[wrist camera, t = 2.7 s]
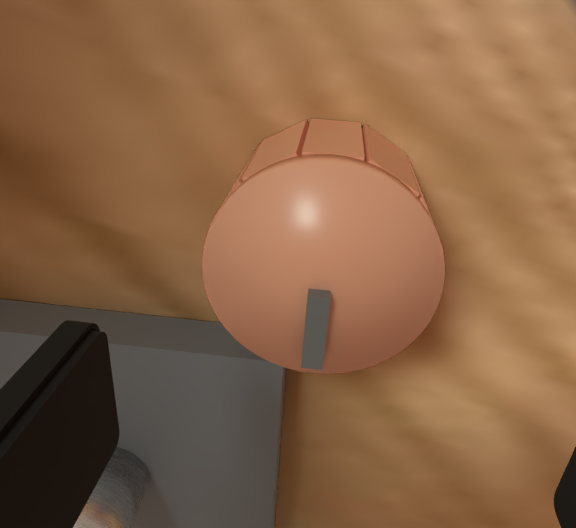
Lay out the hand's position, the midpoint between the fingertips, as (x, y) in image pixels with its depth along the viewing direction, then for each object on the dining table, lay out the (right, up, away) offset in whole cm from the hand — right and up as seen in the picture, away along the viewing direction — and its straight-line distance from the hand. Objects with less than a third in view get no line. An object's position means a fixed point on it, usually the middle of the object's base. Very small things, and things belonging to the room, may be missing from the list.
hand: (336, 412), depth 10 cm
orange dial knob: (0, +5, +7) cm, 9 cm away
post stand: (-8, -5, +14) cm, 17 cm away
